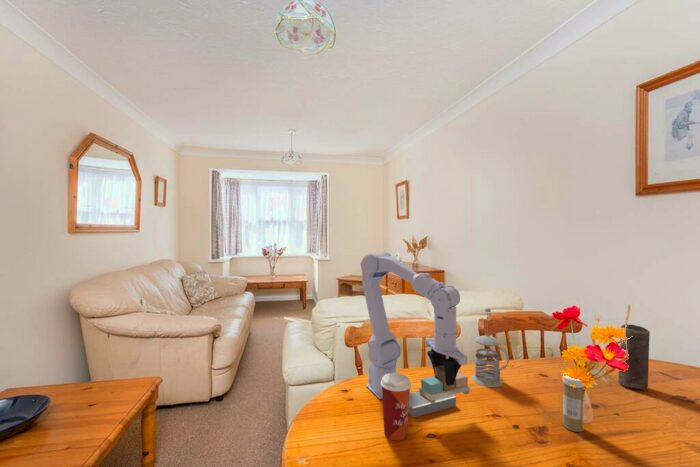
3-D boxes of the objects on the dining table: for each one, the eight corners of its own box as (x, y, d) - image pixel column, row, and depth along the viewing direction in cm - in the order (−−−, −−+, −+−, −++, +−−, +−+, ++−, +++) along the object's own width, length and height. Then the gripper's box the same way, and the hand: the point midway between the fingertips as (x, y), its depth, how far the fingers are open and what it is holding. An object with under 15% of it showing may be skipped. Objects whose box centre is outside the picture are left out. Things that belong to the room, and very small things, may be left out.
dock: (398, 404, 95) (398, 395, 95) (439, 394, 101) (439, 385, 101) (413, 417, 88) (413, 408, 88) (455, 405, 94) (455, 397, 94)
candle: (645, 385, 108) (646, 326, 108) (651, 394, 102) (652, 331, 102) (616, 379, 112) (617, 322, 112) (620, 388, 106) (621, 327, 106)
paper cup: (403, 447, 76) (404, 388, 76) (374, 436, 80) (375, 380, 80) (415, 430, 82) (415, 376, 82) (388, 421, 87) (388, 369, 86)
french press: (475, 371, 118) (476, 303, 118) (510, 380, 111) (511, 308, 111) (468, 381, 110) (469, 308, 110) (505, 391, 103) (506, 314, 103)
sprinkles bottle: (586, 429, 84) (587, 377, 84) (578, 435, 81) (579, 382, 81) (566, 420, 87) (567, 371, 87) (558, 425, 85) (559, 375, 85)
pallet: (419, 395, 87) (419, 369, 87) (456, 385, 93) (456, 361, 93) (430, 403, 83) (430, 376, 83) (469, 393, 88) (469, 367, 88)
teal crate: (421, 388, 87) (421, 379, 87) (433, 385, 89) (433, 376, 89) (430, 394, 83) (430, 385, 83) (442, 391, 85) (442, 382, 85)
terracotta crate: (446, 382, 91) (446, 373, 91) (457, 379, 92) (457, 370, 92) (456, 388, 87) (456, 379, 87) (467, 385, 88) (467, 376, 89)
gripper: (476, 337, 83) (475, 390, 83) (439, 322, 96) (438, 368, 96) (455, 341, 80) (454, 395, 80) (419, 325, 93) (419, 372, 93)
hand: (444, 380), depth 88 cm, fingers closed on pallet, 4 cm apart
